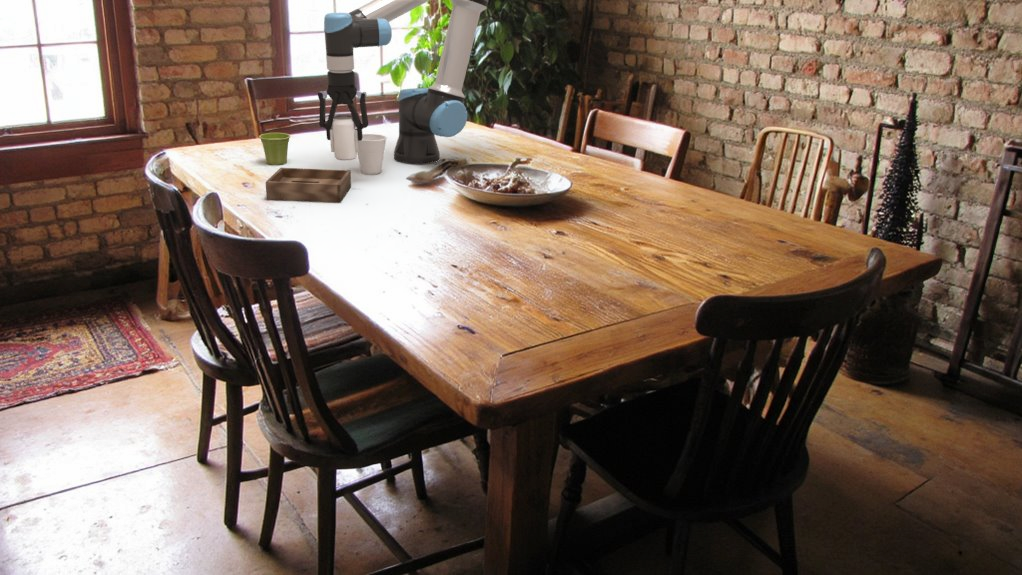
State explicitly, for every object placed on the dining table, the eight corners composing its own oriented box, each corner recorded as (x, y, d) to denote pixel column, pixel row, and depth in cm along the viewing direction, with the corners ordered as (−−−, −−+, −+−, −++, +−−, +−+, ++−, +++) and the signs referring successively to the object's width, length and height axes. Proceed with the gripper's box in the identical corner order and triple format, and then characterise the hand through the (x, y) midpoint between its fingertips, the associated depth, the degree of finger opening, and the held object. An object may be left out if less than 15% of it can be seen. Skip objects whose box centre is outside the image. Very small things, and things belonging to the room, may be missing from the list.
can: (352, 161, 244) (349, 119, 239) (331, 159, 245) (328, 118, 240) (360, 155, 250) (358, 115, 245) (339, 154, 251) (337, 114, 246)
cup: (390, 169, 265) (390, 134, 261) (383, 177, 256) (382, 141, 252) (359, 167, 266) (358, 132, 262) (351, 175, 257) (349, 139, 252)
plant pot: (287, 167, 263) (285, 139, 259) (257, 165, 263) (255, 138, 259) (295, 160, 271) (293, 133, 268) (266, 158, 271) (264, 132, 268)
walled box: (351, 187, 244) (350, 170, 242) (340, 202, 229) (339, 184, 227) (281, 184, 244) (280, 167, 242) (266, 199, 229) (265, 181, 227)
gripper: (377, 69, 241) (380, 148, 250) (309, 68, 241) (315, 147, 250) (373, 73, 234) (376, 154, 243) (303, 72, 234) (309, 153, 243)
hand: (345, 151), depth 247 cm, fingers closed on can, 6 cm apart
